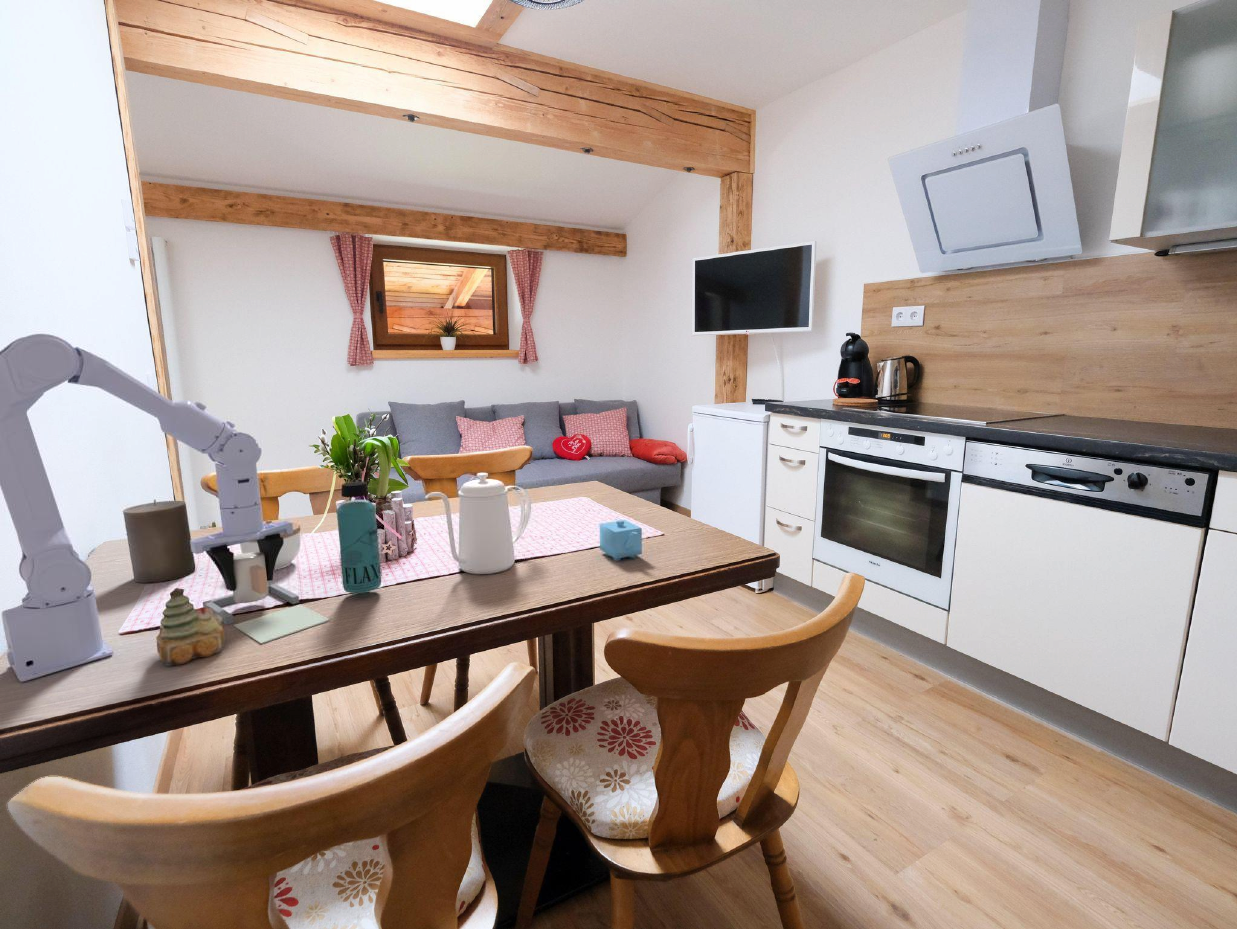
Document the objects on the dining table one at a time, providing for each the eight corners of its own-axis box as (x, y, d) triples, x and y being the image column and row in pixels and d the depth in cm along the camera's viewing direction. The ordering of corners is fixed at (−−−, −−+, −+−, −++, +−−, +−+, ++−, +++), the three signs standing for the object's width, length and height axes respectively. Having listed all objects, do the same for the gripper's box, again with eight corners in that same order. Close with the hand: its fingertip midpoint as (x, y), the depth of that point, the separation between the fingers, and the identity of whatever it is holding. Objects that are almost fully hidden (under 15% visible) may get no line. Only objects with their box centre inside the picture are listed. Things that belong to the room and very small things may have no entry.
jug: (229, 598, 100) (224, 557, 99) (261, 589, 104) (257, 550, 103) (248, 610, 95) (243, 567, 94) (281, 600, 99) (277, 559, 98)
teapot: (650, 563, 120) (650, 526, 119) (623, 568, 117) (622, 531, 116) (622, 547, 131) (621, 513, 129) (597, 551, 128) (596, 517, 127)
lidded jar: (249, 561, 124) (243, 517, 123) (307, 554, 128) (302, 511, 126) (237, 578, 114) (230, 530, 113) (300, 570, 118) (295, 524, 116)
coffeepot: (413, 580, 112) (406, 481, 109) (513, 546, 132) (509, 461, 129) (450, 592, 106) (443, 488, 103) (549, 555, 125) (546, 466, 122)
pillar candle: (206, 570, 119) (196, 495, 117) (152, 586, 111) (139, 506, 108) (177, 564, 123) (166, 492, 121) (122, 579, 115) (109, 502, 112)
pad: (261, 644, 87) (260, 642, 87) (234, 626, 93) (233, 624, 93) (329, 620, 95) (329, 619, 95) (300, 605, 101) (300, 604, 101)
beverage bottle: (340, 603, 102) (328, 487, 98) (346, 589, 108) (336, 480, 105) (381, 599, 103) (371, 485, 100) (385, 585, 110) (376, 477, 106)
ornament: (219, 638, 90) (211, 574, 88) (233, 650, 86) (224, 583, 84) (153, 658, 84) (143, 589, 82) (165, 672, 80) (154, 601, 78)
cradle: (226, 624, 94) (225, 617, 94) (203, 609, 100) (202, 602, 100) (299, 602, 102) (298, 595, 102) (273, 589, 109) (273, 582, 108)
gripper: (197, 517, 90) (208, 603, 92) (297, 499, 101) (305, 577, 103) (181, 510, 94) (192, 593, 97) (279, 494, 105) (287, 568, 108)
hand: (250, 584), depth 100 cm, fingers closed on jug, 5 cm apart
